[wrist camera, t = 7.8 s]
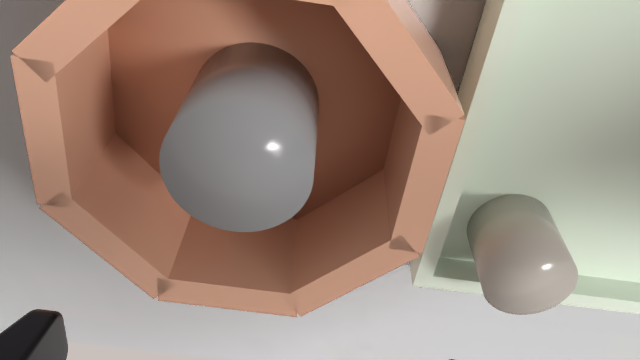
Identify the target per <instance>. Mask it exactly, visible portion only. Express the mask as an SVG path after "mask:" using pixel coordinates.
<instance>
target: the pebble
mask: <svg viewBox="0 0 640 360" xmlns="http://www.w3.org/2000/svg"><path fill="white" fill-rule="evenodd" d="M467 238H468V241H469V245H470V249H471V252H472V256H473V259H474V263H475V266H476V270H477V273H478V277H479V280H480V284H481V287H482V291H483V294H484V296H485V298H486V300H487V301H488V302H489V303H490V304H491V305H492V306H493V307H495V308H496V309H498V310H500V311H503V312H506V313H510V314H518V315H526V314H534V313H539V312H542V311H545V310H548V309H551V308H553V307H555V306H556V305H558V304H560V303H561V302H562V301H564V300H565V299H566V298H567V297H568V296H569V295H570V294H571V293H572V291H573V290H574V288H575V286H576V284H577V280H578V270H577V267H576V265H575V263H574V261H573V258H572V256H571V254H570V252H569V250H568V248H567V246H566V244H565V242H564V240H563V238H562V236H561V234H560V232H559V230H558V228H557V226H556V224H555V222H554V220H553V218H552V216H551V214H550V212H549V210H548V209H547V207H546V206H545V205H544V204H543V203H542V202H541V201H539V200H538V199H536V198H533V197H531V196H527V195H522V194H509V195H503V196H499V197H496V198H494V199H491V200H489V201H487V202H486V203H484V204H483V205H481V206H480V207H479V208H478V209H477V210H476V211H475V212H474V213H473V214H472V216H471V218H470V220H469V222H468V225H467Z"/></svg>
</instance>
